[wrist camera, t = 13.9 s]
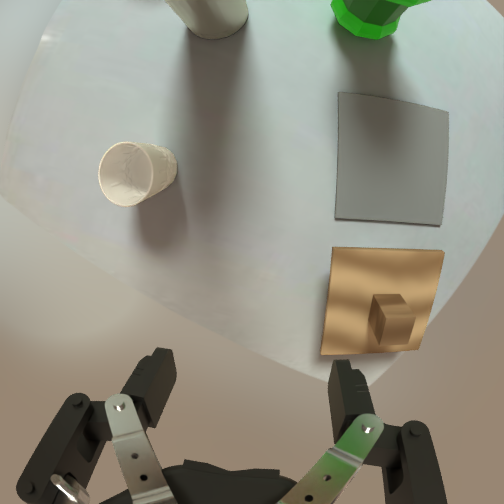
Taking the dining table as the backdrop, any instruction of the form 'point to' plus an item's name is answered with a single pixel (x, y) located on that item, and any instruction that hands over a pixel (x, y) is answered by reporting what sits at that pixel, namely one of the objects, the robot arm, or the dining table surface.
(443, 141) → the grey mat
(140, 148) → the white cup
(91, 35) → the dining table surface
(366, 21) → the plastic bottle
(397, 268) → the oak lid
